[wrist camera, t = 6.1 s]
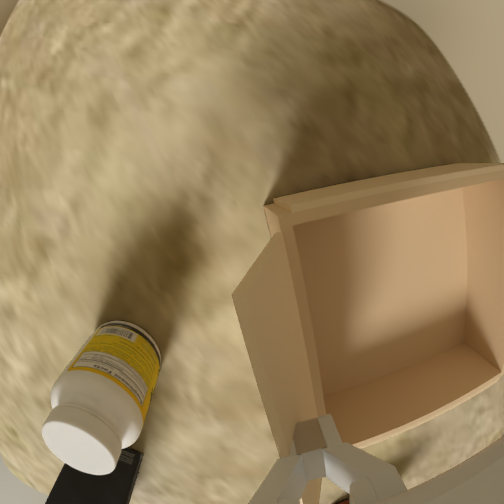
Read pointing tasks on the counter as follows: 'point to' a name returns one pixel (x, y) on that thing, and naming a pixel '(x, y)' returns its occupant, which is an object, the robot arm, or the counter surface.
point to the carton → (398, 293)
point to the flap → (277, 348)
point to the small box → (98, 483)
